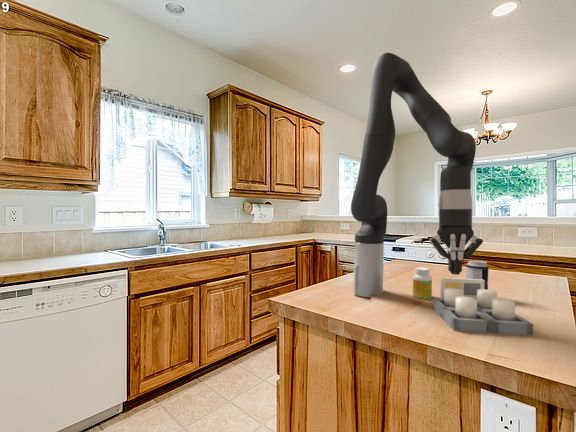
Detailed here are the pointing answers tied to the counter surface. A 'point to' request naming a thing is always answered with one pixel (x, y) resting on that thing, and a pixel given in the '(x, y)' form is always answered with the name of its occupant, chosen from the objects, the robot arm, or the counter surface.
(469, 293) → the button board
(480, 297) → the button back right
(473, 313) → the button front left
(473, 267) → the beverage can
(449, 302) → the button back left
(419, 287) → the supplement bottle
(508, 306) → the button front right
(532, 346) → the counter surface
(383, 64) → the robot arm
